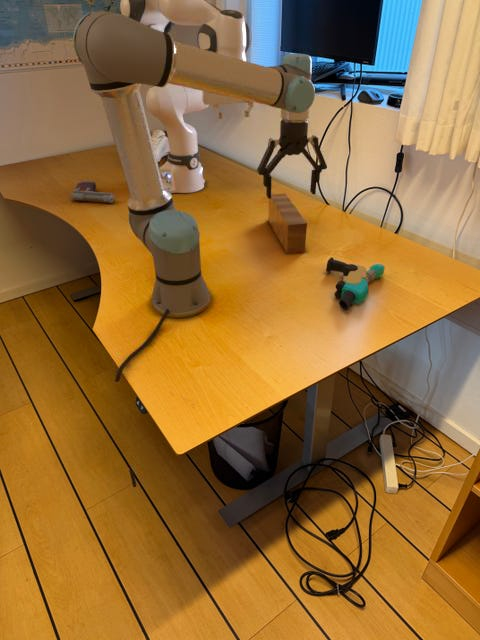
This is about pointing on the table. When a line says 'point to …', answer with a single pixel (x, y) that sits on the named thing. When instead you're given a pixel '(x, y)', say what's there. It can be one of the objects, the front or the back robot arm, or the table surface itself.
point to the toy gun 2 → (353, 281)
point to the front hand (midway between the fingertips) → (290, 195)
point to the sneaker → (160, 143)
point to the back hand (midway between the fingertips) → (233, 117)
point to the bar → (287, 223)
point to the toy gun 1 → (90, 193)
